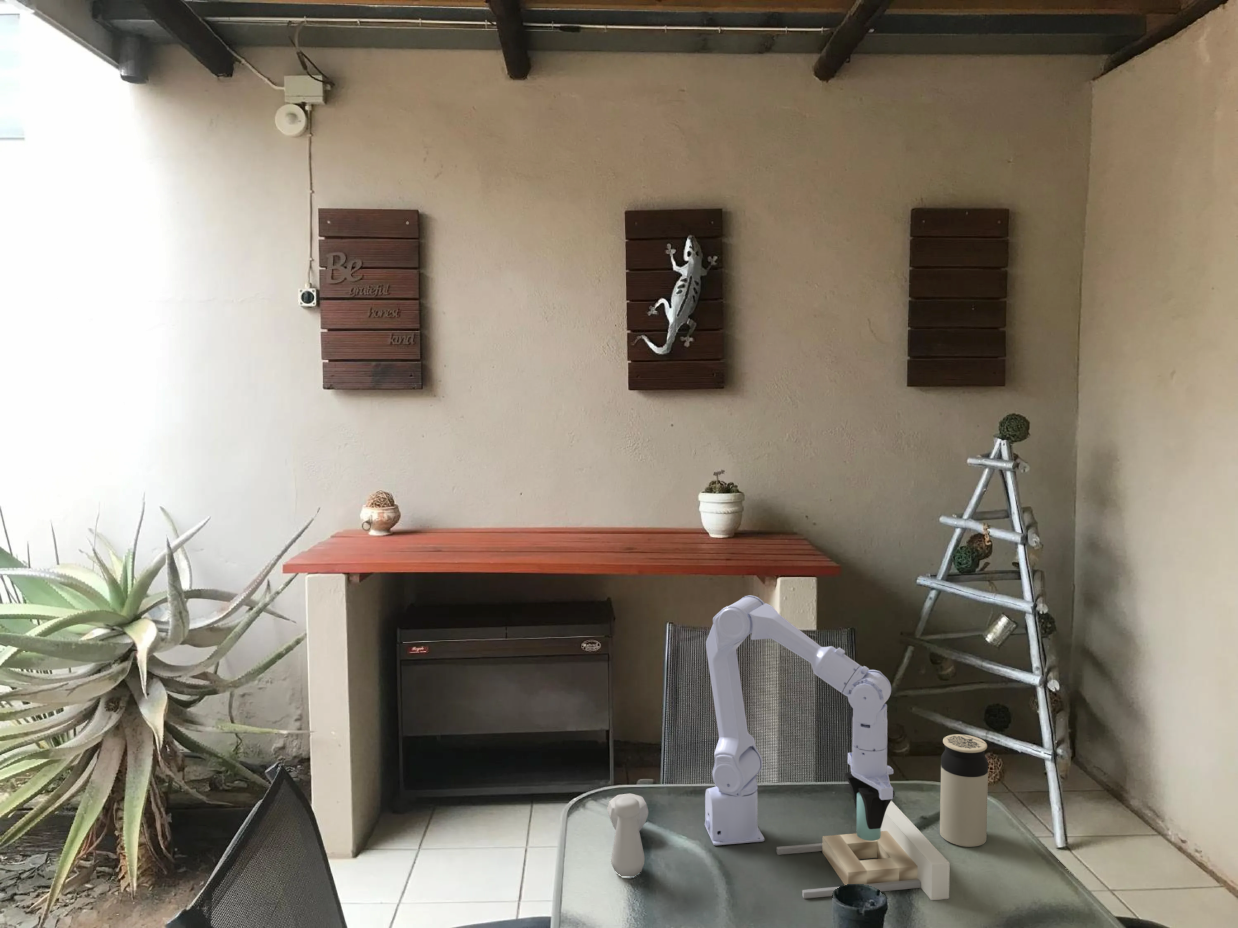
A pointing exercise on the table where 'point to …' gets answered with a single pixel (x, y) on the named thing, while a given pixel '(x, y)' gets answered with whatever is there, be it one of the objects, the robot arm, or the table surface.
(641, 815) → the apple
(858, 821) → the dowel
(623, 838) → the salt shaker
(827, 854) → the socket block
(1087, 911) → the table surface
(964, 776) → the travel mug
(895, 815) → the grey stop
